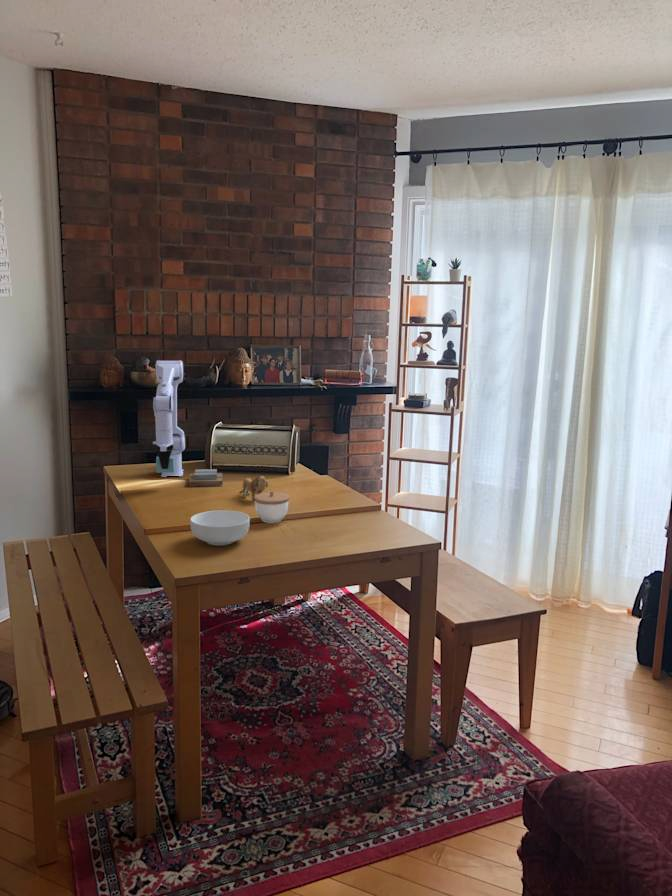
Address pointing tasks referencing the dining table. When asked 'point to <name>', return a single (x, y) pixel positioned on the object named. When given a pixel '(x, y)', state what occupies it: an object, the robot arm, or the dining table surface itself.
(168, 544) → the dining table surface
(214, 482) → the tower base
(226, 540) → the cereal bowl
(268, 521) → the lidded jar
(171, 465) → the teal brick
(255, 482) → the lion figurine
